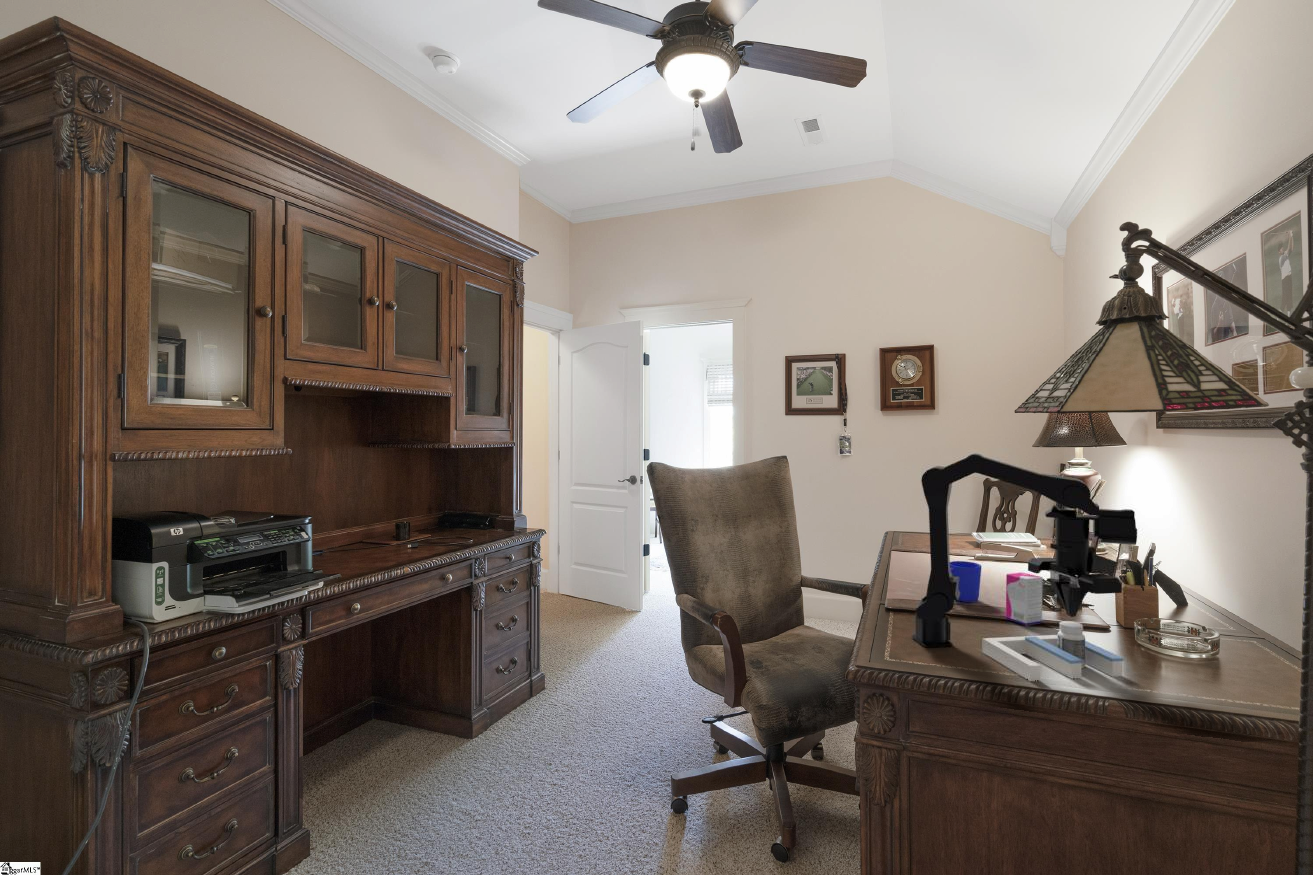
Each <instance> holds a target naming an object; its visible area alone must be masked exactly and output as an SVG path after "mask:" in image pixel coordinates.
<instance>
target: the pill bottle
mask: <svg viewBox="0 0 1313 875" xmlns="http://www.w3.org/2000/svg"><path fill="white" fill-rule="evenodd" d="M1083 633H1084V626H1083V624H1082V623H1079V622H1077V621H1076V622H1075V621H1072V620H1071V621H1070V620H1067V621H1066V620H1062V621H1060V622H1059V631H1058V632H1057V634H1056V635H1058V648H1059V649H1061V650H1063V651H1065V652H1067V653H1069V654H1071V655H1073V656H1075V657H1077V658H1079V659H1081V660H1082V663H1081V669H1084V668H1085V667H1086V663H1085V641H1086V637H1085V636H1086V635H1084V634H1083Z"/></svg>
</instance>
